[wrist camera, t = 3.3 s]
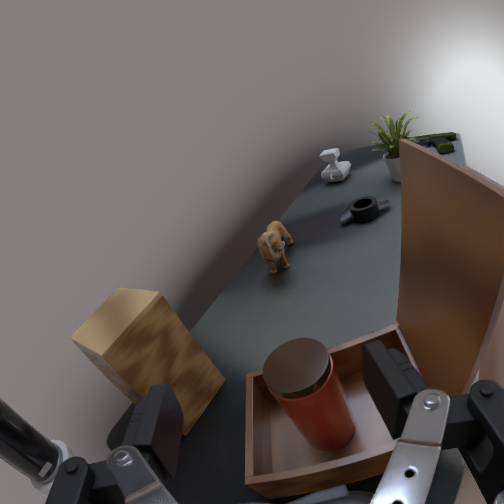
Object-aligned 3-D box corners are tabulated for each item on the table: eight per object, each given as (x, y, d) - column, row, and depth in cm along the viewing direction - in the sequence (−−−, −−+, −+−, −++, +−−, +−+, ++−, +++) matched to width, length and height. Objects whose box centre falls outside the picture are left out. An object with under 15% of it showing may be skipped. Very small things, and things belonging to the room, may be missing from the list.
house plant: (439, 163, 69) (424, 101, 61) (430, 188, 61) (413, 116, 54) (389, 166, 79) (372, 109, 72) (373, 190, 71) (352, 124, 64)
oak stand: (186, 436, 36) (104, 359, 29) (143, 412, 42) (72, 341, 35) (226, 379, 43) (162, 295, 35) (180, 365, 49) (121, 290, 42)
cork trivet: (104, 359, 29) (101, 355, 29) (72, 341, 35) (69, 337, 35) (162, 295, 35) (160, 291, 35) (121, 290, 42) (119, 287, 41)
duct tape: (349, 208, 69) (346, 196, 68) (392, 204, 62) (389, 192, 61) (338, 227, 64) (334, 214, 63) (384, 224, 58) (381, 211, 56)
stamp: (344, 185, 80) (334, 155, 77) (322, 187, 85) (312, 159, 81) (354, 170, 86) (345, 143, 82) (334, 173, 90) (324, 147, 86)
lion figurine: (298, 276, 56) (279, 233, 52) (269, 286, 57) (249, 244, 53) (293, 236, 69) (278, 200, 65) (270, 245, 70) (253, 209, 66)
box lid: (514, 204, 10) (564, 195, 10) (398, 139, 22) (442, 135, 22) (444, 427, 19) (486, 409, 19) (396, 319, 31) (431, 310, 30)
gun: (393, 160, 82) (401, 143, 91) (456, 152, 69) (456, 136, 78) (391, 151, 81) (399, 136, 90) (454, 143, 68) (455, 129, 77)
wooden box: (268, 499, 25) (244, 484, 23) (265, 399, 37) (246, 373, 34) (442, 450, 22) (447, 427, 19) (404, 354, 34) (399, 321, 31)
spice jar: (316, 460, 27) (274, 406, 21) (296, 422, 32) (253, 358, 26) (365, 432, 27) (342, 367, 22) (341, 397, 32) (311, 326, 27)
